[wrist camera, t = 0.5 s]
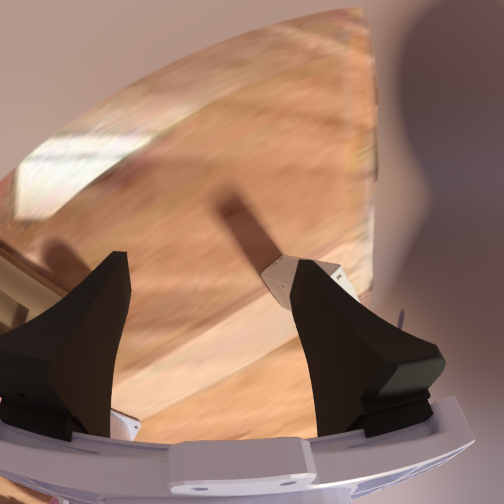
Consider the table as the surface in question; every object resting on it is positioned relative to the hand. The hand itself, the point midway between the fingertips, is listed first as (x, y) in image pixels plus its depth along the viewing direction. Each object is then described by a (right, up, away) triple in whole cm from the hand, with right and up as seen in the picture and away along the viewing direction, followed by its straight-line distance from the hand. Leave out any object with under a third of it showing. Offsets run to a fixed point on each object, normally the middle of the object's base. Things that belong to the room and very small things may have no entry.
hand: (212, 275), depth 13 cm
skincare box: (+6, -3, +28) cm, 29 cm away
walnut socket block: (-27, -6, +15) cm, 31 cm away
